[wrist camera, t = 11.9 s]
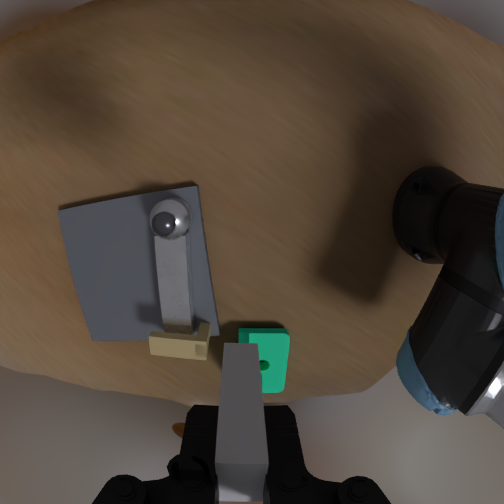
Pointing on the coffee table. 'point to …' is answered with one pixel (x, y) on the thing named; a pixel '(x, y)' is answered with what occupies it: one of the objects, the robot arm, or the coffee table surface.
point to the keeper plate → (135, 272)
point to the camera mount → (269, 355)
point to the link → (174, 264)
